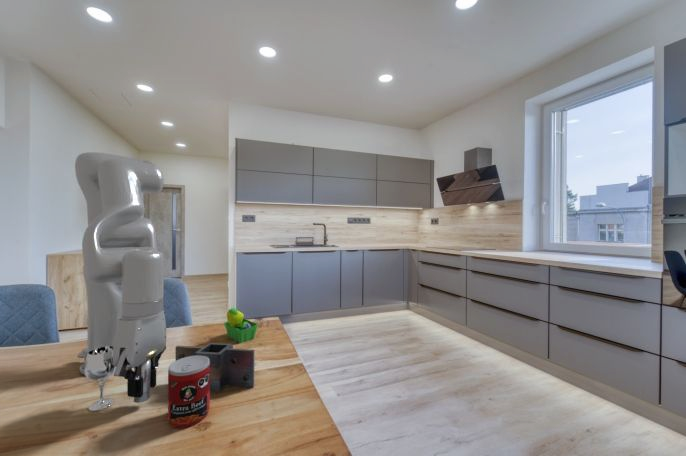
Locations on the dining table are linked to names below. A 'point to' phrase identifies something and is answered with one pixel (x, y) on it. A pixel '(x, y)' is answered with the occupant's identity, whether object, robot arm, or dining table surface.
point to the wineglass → (100, 372)
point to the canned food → (188, 391)
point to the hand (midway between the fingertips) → (142, 390)
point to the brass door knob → (146, 378)
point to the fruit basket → (239, 326)
